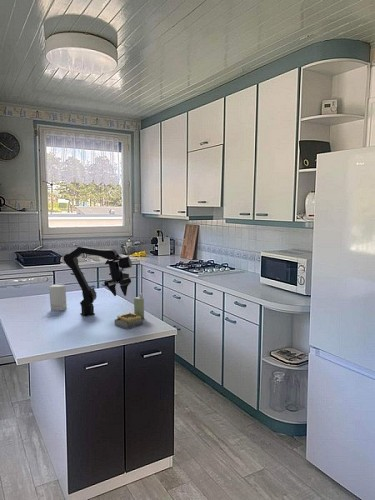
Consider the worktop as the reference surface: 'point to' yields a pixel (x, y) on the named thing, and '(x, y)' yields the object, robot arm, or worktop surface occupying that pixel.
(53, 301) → the skincare box
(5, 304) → the worktop surface
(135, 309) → the green and white bottle
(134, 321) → the grey and tan tray
